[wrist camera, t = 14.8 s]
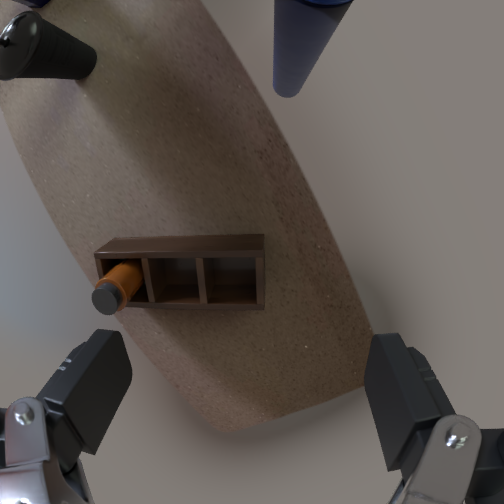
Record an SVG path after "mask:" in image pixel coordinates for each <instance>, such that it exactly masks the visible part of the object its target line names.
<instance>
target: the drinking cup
mask: <svg viewBox="0 0 504 504" xmlns="http://www.w3.org/2000/svg"><path fill="white" fill-rule="evenodd" d="M96 61H97V55H96V52H95V50H94V49H93V48H92V47H90V46H88V45H87V44H85V43H83V42H82V41H80V40H78V39H77V38H75V37H74V36H72V35H70V34H68V33H67V32H65V31H63V30H62V29H60V28H58V27H56V26H55V25H53V24H51V23H49V22H48V21H46V20H44V19H42V17H41V16H40V15H39V14H38V13H37V12H34V11H26V12H23V13H21V14H19V15H17V16H16V17H15V18H13V19H12V20H11V21H10V22H9V23H8V24H7V26H6V27H5V28H4V30H3V31H2V33H1V34H0V80H3V81H8V80H12V79H14V78H57V79H76V80H79V79H83V78H85V77H86V76H88V75H89V74H90V73H91V72H92V70H93V69H94V67H95V64H96Z"/></svg>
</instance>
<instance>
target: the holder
mask: <svg viewBox="0 0 504 504" xmlns="http://www.w3.org/2000/svg"><path fill="white" fill-rule="evenodd" d="M94 257H95V262H96V266H97V271H98V275H99V280H100V279H101V278H102V277H104V276H105V275H106V274H107V273H108V272H109V271H110V270H111V269H112V268H114V267H115V266H116V265H117V264H118V263H119V262H120V261H121V260H123V259H126V258H141V261H142V267H143V272H144V278H145V283H144V284H143V285H142V286H141V287H140V289H139V290H138V291H137V292H136V294H135V295H134V296H133V297H132V299H131V300H130V301H129V302H128V304H127V305H126V306H125V307H138V308H160V309H189V310H264V306H265V248H264V234H241V235H197V236H161V237H130V238H114V239H112V240H111V241H109V242H108V243H107V244H105V245H104V246H102V247H101V248H99V249H98V250H97V251H95V252H94Z"/></svg>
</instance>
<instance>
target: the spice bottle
mask: <svg viewBox="0 0 504 504" xmlns="http://www.w3.org/2000/svg"><path fill="white" fill-rule="evenodd" d="M144 283H145V278H144V272H143V267H142V261H141V258H126V259H123V260H121V261H120V262H119V263H118V264H117V265H116V266H115V267H114V268H112V269H111V270H110V271H109V272H108V273H107V274H106V275H105V276H104V277H102V278H101V279H100V280H99V281H98V282H97V284H96V286H95V290H94V291H93V293H92V302H93V305H94V306H95V308H96V309H97V310H98V311H99V312H101V313H102V314H105V315H112V314H114V313H115V312H116V311H120V310H122V309H123V308H124V307H125V306H126V305H127V304H128V302H129V301H130V300H131V299H132V297H133V296H134V295H135V294H136V292H137V291H138V290H139V289H140V287H141V286H142V285H143V284H144Z"/></svg>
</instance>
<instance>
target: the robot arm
mask: <svg viewBox="0 0 504 504" xmlns="http://www.w3.org/2000/svg"><path fill="white" fill-rule="evenodd" d="M131 380H132V367H131V363H130V360H129V357H128V354H127V351H126V348H125V345H124V341H123V338H122V335H121V333H120V332H119V331H113V330H103V329H97V330H96V331H95V332H94V333H93V334H92V336H91V337H90V338H89V339H88V341H87V342H84V343H82V344H81V345H79V346H78V347H76V348H75V349H73V350H72V352H71V353H70V354H69V355H68V357H67V358H66V359H65V361H64V362H63V363H62V364H61V365H60V367H59V370H58V369H57V370H56V372H55V373H54V374H53V376H52V377H51V378H50V379H49V381H48V382H47V383H46V385H45V386H44V387H43V389H42V390H41V391H40V393H39V394H38V395H37V396H36V398H34V397H23V398H20V399H18V400H16V401H14V402H13V403H12V404H11V405H10V406H9V407H8V409H6V408H0V504H95V503H94V501H93V498H92V495H91V492H90V489H89V486H88V483H87V480H86V476H85V473H84V470H83V466H82V463H81V460H80V459H79V455H80V453H81V451H83V452H86V453H89V454H93V455H95V454H96V451H97V449H98V447H99V445H100V443H101V441H102V439H103V437H104V435H105V433H106V431H107V429H108V427H109V425H110V423H111V421H112V419H113V417H114V415H115V413H116V411H117V409H118V407H119V405H120V403H121V401H122V399H123V397H124V395H125V393H126V392H127V390H128V388H129V386H130V384H131ZM364 385H365V391H366V394H367V397H368V401H369V404H370V407H371V411H372V414H373V418H374V421H375V425H376V428H377V432H378V436H379V439H380V443H381V447H382V451H383V454H384V458H385V462H386V466H387V470H388V472H389V471H394V470H398V469H401V473H402V478H401V480H400V482H399V484H398V485H397V487H396V489H395V491H394V493H393V495H392V496H391V498H390V500H389V501H388V503H387V504H463V501H464V500H465V503H466V504H504V429H479V427H478V425H477V424H476V423H475V422H474V421H473V420H471V419H470V418H468V417H465V416H462V415H457V414H456V413H455V411H454V409H453V407H452V405H451V403H450V401H449V399H448V397H447V395H446V394H445V392H444V390H443V388H442V386H441V384H440V383H439V381H438V380H437V379H436V375H435V374H434V372H433V370H431V366H430V365H429V363H428V361H427V360H426V358H425V356H424V355H422V354H421V353H420V352H419V351H417V350H416V349H415V348H414V347H408V348H407V347H406V346H405V344H404V342H403V340H402V338H401V336H400V335H399V334H398V333H388V334H375V335H374V336H373V338H372V342H371V347H370V351H369V356H368V361H367V365H366V369H365V375H364Z"/></svg>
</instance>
